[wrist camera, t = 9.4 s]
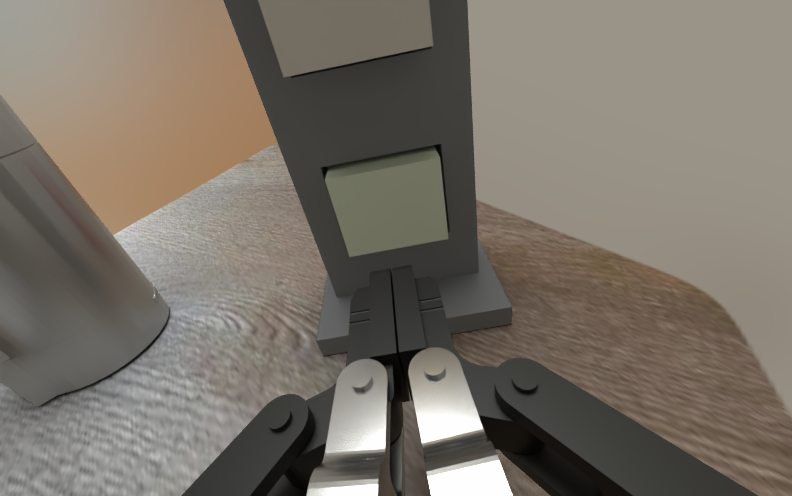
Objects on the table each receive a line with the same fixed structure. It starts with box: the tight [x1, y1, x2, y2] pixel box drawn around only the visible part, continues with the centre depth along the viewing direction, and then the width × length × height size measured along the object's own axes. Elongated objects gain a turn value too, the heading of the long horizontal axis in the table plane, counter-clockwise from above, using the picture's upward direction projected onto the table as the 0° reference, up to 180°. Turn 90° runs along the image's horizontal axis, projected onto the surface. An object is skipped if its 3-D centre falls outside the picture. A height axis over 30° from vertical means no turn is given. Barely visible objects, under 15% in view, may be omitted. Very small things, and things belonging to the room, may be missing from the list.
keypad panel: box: [224, 0, 512, 356], centre depth 15 cm, size 8×12×34 cm
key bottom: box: [325, 145, 448, 257], centre depth 19 cm, size 2×6×5 cm, turn 94°
